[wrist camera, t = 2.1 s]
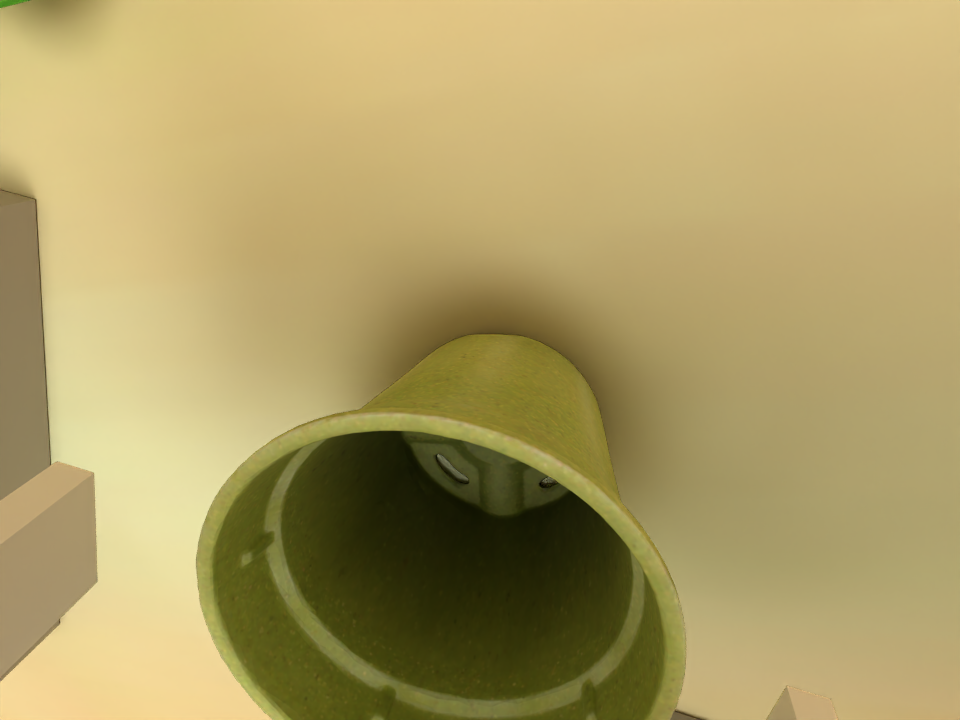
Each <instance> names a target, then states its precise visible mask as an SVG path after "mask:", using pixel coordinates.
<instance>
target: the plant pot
mask: <svg viewBox="0 0 960 720" xmlns="http://www.w3.org/2000/svg"><path fill="white" fill-rule="evenodd" d="M437 454H441V455H443V456H444V457H445V458H446V459H447V460H448V461H449V462H450V464H451V465H452V466H453V467H454V468H455V469H456V470H457V471H459V472H460V473H462V474H464V475H465V476H466V477H467V478H468V479H469V483H468V484H462V483H460V482H458V481H456V480H454V479H453V478H451V477H450V476H448V475H447V474H446V473H445V472H444V471H443V470H442V469H441V467H440V466H439V465H438V463H437V461H436V459H435V455H437ZM548 476H549V477H551V478H553V479H554V480H556V481H557V482H558V483H557V484H555V485H554V486H552V487H550V488H548V487H546V488H542V487H541V486H539V483H540V482H541V481H542V480H543V479H545V478H547V477H548ZM196 570H197V579H198V590H199V599H200V605H201V609H202V612H203V615H204V619H205V622H206V625H207V627H208V629H209V632H210V634H211V637H212V640H213V642H214V644H215V646H216V648H217V650H218V651H219V653H220V656H221V658H222V659H223V661H224V662H225V663H226V665H227V666H228V668H229V670H230V671H231V673H232V674H233V676H234V677H235V679H236V680H237V681H238V682H239V683H240V684H241V686H242V687H243V688H244V690H245V691H246V692H247V693H248V695H249V696H250V697H251V698H252V700H253V701H254V702H255V703H256V704H257V705H258V706H259V707H260V708H261V709H262V710H263V712H264V713H266V714H267V715H268V716H269V717H270V718H271V719H272V720H670V719H671V717H672V714H673V712H674V710H675V708H676V706H677V703H678V699H679V696H680V694H681V690H682V684H683V679H684V675H685V665H686V632H685V625H684V619H683V614H682V609H681V606H680V602H679V599H678V595H677V592H676V588H675V585H674V583H673V580H672V578H671V576H670V573H669V571H668V569H667V567H666V564H665V563H664V561H663V559H662V557H661V555H660V553H659V552H658V550H657V548H656V547H655V545H654V544H653V542H652V541H651V539H650V538H649V536H648V535H647V533H646V532H645V531H644V529H643V528H642V526H641V525H640V524H639V522H638V521H637V520H636V519H635V518H634V517H633V515H632V514H631V513H630V512H629V511H628V510H627V509H626V507H625V506H624V505H623V504H622V502H621V500H620V496H619V492H618V488H617V484H616V480H615V476H614V472H613V468H612V463H611V459H610V455H609V450H608V445H607V440H606V436H605V431H604V426H603V422H602V418H601V414H600V411H599V407H598V404H597V401H596V399H595V396H594V394H593V392H592V390H591V388H590V386H589V385H588V383H587V382H586V380H585V379H584V377H583V376H582V375H581V373H580V372H579V371H578V370H577V369H576V368H575V366H574V365H573V364H572V363H571V362H570V361H568V360H567V359H566V358H565V357H564V356H562V355H561V354H559V353H558V352H557V351H555V350H554V349H552V348H550V347H548V346H547V345H545V344H543V343H541V342H538V341H536V340H533V339H531V338H527V337H524V336H518V335H503V334H477V335H467V336H464V337H460V338H457V339H455V340H452V341H450V342H448V343H446V344H444V345H443V346H441V347H439V348H437V349H436V350H435V351H433V352H432V353H431V354H430V355H428V356H427V357H426V358H425V359H423V360H422V361H421V362H420V363H418V364H417V365H416V366H415V367H414V368H412V369H411V370H410V371H409V372H408V373H407V374H405V375H404V376H403V377H402V378H400V379H399V380H398V381H396V382H395V383H394V384H393V385H391V386H390V387H389V388H387V389H386V390H385V391H383V392H382V393H381V394H379V395H378V396H377V397H376V398H374V399H373V400H372V401H370V402H369V403H368V404H366V405H365V406H364V407H363V408H361V409H360V410H353V411H348V412H343V413H338V414H333V415H329V416H326V417H323V418H319V419H316V420H313V421H310V422H307V423H305V424H302V425H299V426H297V427H295V428H293V429H291V430H289V431H288V432H286V433H284V434H282V435H280V436H278V437H276V438H274V439H273V440H271V441H270V442H269V443H267V444H266V445H265V446H263V447H262V448H260V449H259V450H258V451H256V452H255V453H254V454H253V455H251V456H250V457H249V458H248V459H247V460H246V461H245V462H244V463H242V464H241V465H240V466H239V467H238V468H237V470H236V471H235V472H234V473H233V474H232V475H231V476H230V477H229V478H228V480H227V481H226V483H225V484H224V485H223V486H222V488H221V489H220V491H219V492H218V494H217V495H216V497H215V499H214V501H213V503H212V505H211V507H210V509H209V511H208V514H207V517H206V519H205V522H204V524H203V527H202V530H201V534H200V539H199V542H198V550H197V556H196Z"/></svg>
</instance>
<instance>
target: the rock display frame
mask: <svg viewBox="0 0 960 720" xmlns="http://www.w3.org/2000/svg"><path fill="white" fill-rule="evenodd" d="M49 466H50V451H49V433H48V416H47V398H46V380H45V363H44V345H43V328H42V310H41V292H40V275H39V257H38V240H37V222H36V204H35V199H31V198H28V197H24V196H21V195H17V194H13V193H10V192H6V191H3V190H0V500H2V499H3V498H5V497H6V496H8V495H9V494H11V493H12V492H13V491H15V490H16V489H18V488H19V487H21V486H22V485H23V484H25V483H26V482H28V481H29V480H31V479H32V478H34V477H35V476H36V475H38V474H39V473H41V472H42V471H44V470H45V469H47V468H48V467H49ZM58 625H59V620H58V621H57V622H56V623H55V624H54V625H53V626H52V627H51V628H50V629H49V630H48V631H47V632H46V633H45V634H44V635H43V636H42V637H41V638H40V639H39V640H38V641H37V642H36V643H35V644H34V645H33V646H32V647H31V648H30V649H29V650H28V651H27V652H26V653H25V654H24V655H22V656H21V657H20V658H19V659H18V660H17V661H16V662H15V663H14V664H13V665H12V666H11V667H10V668H9V669H8V670H7V671H6V672H5V673H4V674H3V675H2V676H1V677H0V681H1V680H2V679H3V678H4V677H5V676H6V675H8V674H9V673H10V672H11V671H12V670H13V669H14V668H15V667H16V666H17V665H18V664H19V663H20V662H21V661H22V660H23V659H24V658H25V657H26V656H27V655H28V654H29V653H30V652H31V651H32V650H33V649H34V648H35V647H36V646H37V645H39V644H40V643H41V642H42V641H43V640H44V639H45V638H46V637H47V636H48V635H49V634H50V633H51V632H52V631H53V630H54V629H55V628H56V627H57V626H58Z"/></svg>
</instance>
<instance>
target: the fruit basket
mask: <svg viewBox="0 0 960 720" xmlns="http://www.w3.org/2000/svg"><path fill="white" fill-rule="evenodd" d="M26 1H30V0H0V8H3V7H6V6H10V5H14V4H18V3H22V2H26Z"/></svg>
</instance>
